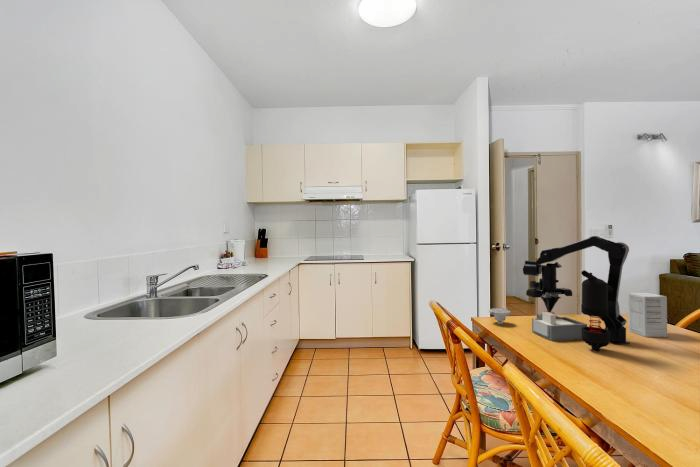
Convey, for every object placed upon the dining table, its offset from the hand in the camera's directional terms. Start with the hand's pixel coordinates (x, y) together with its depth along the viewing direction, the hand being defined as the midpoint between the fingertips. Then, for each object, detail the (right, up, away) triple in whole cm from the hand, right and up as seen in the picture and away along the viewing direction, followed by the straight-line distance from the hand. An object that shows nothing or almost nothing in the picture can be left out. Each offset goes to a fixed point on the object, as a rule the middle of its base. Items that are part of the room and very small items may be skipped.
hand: (549, 311), depth 156 cm
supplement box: (+37, -8, -8) cm, 39 cm away
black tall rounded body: (+3, -9, -26) cm, 28 cm away
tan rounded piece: (0, -4, 0) cm, 4 cm away
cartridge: (-3, -7, -9) cm, 11 cm away
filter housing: (-1, -8, -6) cm, 10 cm away
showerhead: (-17, -8, +11) cm, 22 cm away
